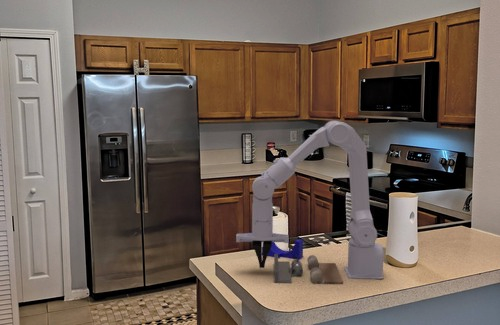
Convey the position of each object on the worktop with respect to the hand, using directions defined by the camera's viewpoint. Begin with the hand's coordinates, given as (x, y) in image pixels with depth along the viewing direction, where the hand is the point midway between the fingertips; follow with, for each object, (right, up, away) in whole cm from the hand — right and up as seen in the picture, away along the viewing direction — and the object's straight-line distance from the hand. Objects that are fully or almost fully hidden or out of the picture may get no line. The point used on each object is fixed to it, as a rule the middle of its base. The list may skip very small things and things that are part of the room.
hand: (262, 266), depth 135 cm
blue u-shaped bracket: (+7, -1, +15) cm, 16 cm away
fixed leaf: (+17, -2, -1) cm, 18 cm away
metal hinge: (+7, -2, 0) cm, 8 cm away
